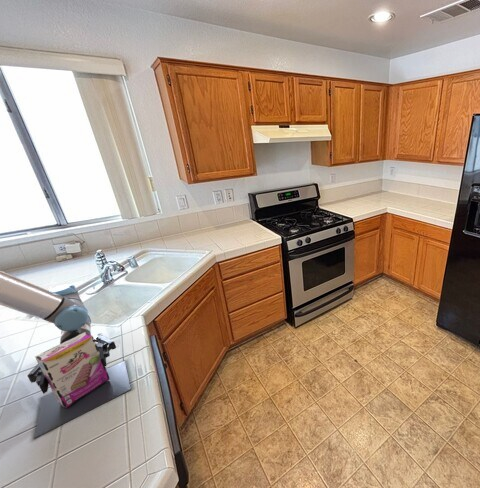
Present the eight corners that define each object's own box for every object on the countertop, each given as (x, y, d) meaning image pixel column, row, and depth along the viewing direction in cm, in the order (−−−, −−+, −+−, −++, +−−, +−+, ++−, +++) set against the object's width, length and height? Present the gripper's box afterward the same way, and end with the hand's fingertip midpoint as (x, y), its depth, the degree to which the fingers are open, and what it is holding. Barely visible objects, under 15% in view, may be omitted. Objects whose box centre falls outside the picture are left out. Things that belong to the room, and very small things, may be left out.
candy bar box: (66, 409, 72) (41, 362, 66) (57, 402, 74) (32, 356, 68) (111, 378, 81) (93, 335, 76) (103, 373, 83) (84, 330, 78)
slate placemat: (34, 438, 65) (34, 437, 65) (41, 398, 76) (41, 397, 76) (131, 389, 77) (130, 389, 77) (124, 361, 89) (124, 360, 89)
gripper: (123, 331, 96) (131, 362, 81) (29, 367, 81) (17, 413, 66) (116, 313, 94) (123, 342, 78) (18, 347, 79) (3, 391, 63)
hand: (75, 375), depth 72 cm, fingers closed on candy bar box, 12 cm apart
